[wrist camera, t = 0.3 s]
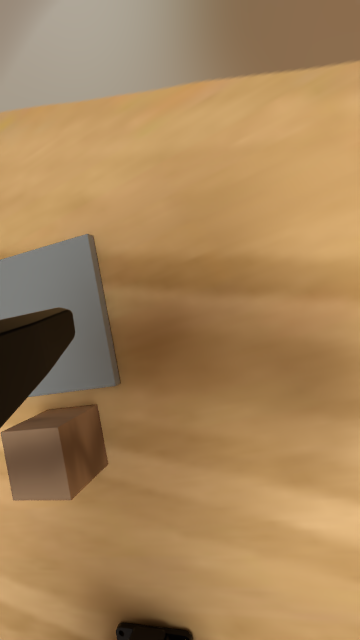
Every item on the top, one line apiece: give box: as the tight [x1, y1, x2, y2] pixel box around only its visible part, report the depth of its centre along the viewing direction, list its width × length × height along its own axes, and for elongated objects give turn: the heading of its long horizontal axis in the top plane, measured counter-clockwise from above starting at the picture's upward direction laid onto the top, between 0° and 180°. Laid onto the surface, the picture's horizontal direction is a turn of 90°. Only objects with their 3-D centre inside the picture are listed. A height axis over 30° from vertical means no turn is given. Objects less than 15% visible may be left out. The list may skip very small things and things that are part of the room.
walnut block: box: [1, 405, 108, 500], centre depth 24 cm, size 5×5×5 cm
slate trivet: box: [0, 234, 120, 397], centre depth 26 cm, size 12×12×1 cm
